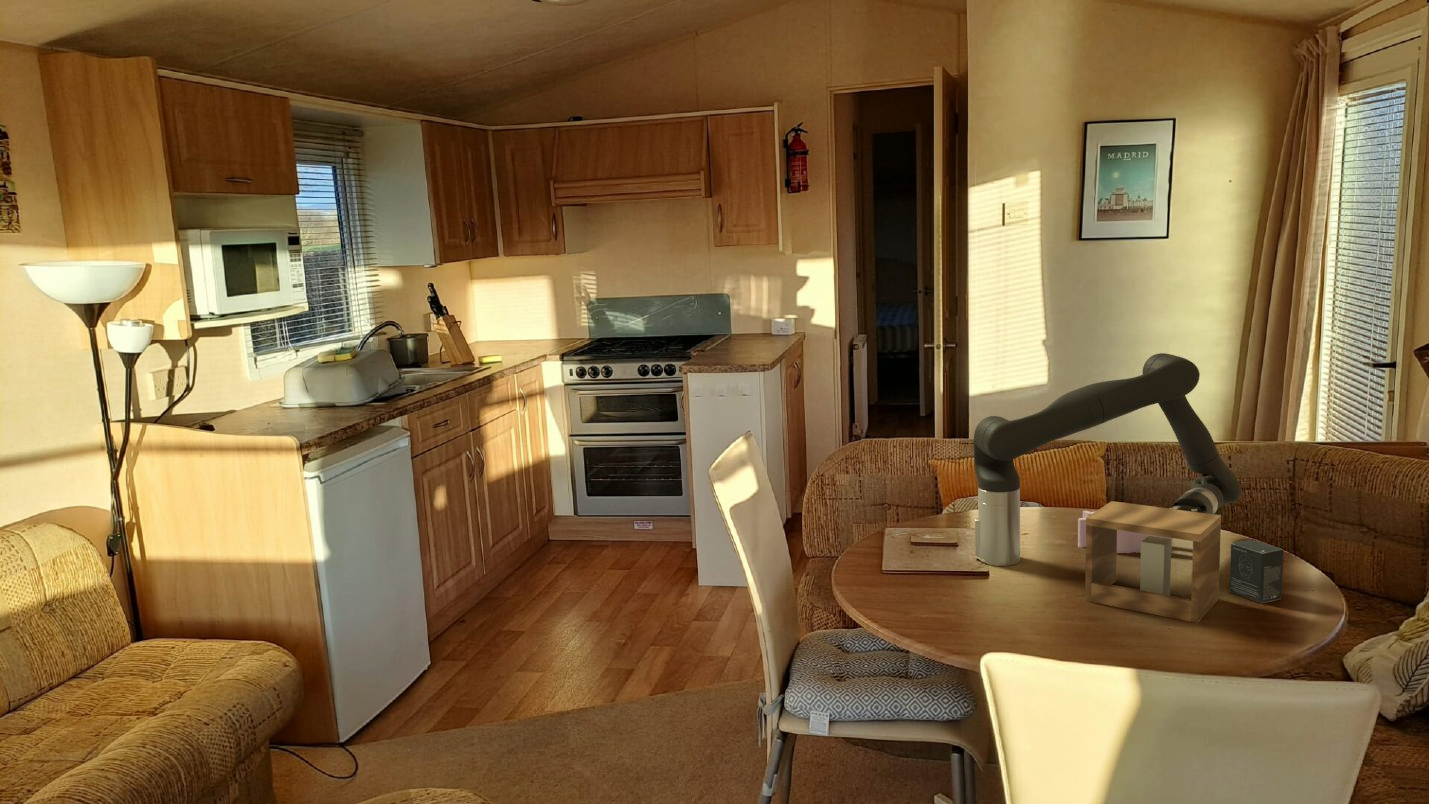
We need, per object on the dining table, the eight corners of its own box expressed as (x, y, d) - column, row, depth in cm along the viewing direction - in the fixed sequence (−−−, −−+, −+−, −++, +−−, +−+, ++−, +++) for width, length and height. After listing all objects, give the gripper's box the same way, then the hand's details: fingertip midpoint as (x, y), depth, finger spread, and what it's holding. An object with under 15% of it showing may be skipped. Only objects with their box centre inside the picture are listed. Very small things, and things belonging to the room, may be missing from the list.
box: (1282, 599, 202) (1284, 548, 200) (1260, 604, 200) (1262, 553, 198) (1249, 587, 209) (1251, 538, 207) (1228, 592, 207) (1230, 542, 206)
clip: (1173, 543, 239) (1174, 515, 238) (1168, 560, 228) (1169, 530, 227) (1084, 535, 249) (1084, 508, 247) (1075, 550, 238) (1076, 522, 237)
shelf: (1085, 600, 207) (1086, 518, 204) (1110, 580, 217) (1111, 501, 214) (1197, 622, 193) (1200, 534, 190) (1218, 599, 204) (1221, 515, 201)
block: (1139, 598, 207) (1141, 541, 204) (1147, 591, 210) (1148, 535, 208) (1162, 602, 204) (1164, 545, 202) (1169, 595, 207) (1171, 539, 205)
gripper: (1162, 487, 230) (1138, 505, 218) (1230, 495, 221) (1209, 514, 209) (1162, 519, 232) (1138, 539, 220) (1229, 528, 223) (1209, 549, 210)
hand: (1173, 526), depth 214 cm, fingers open, 8 cm apart
